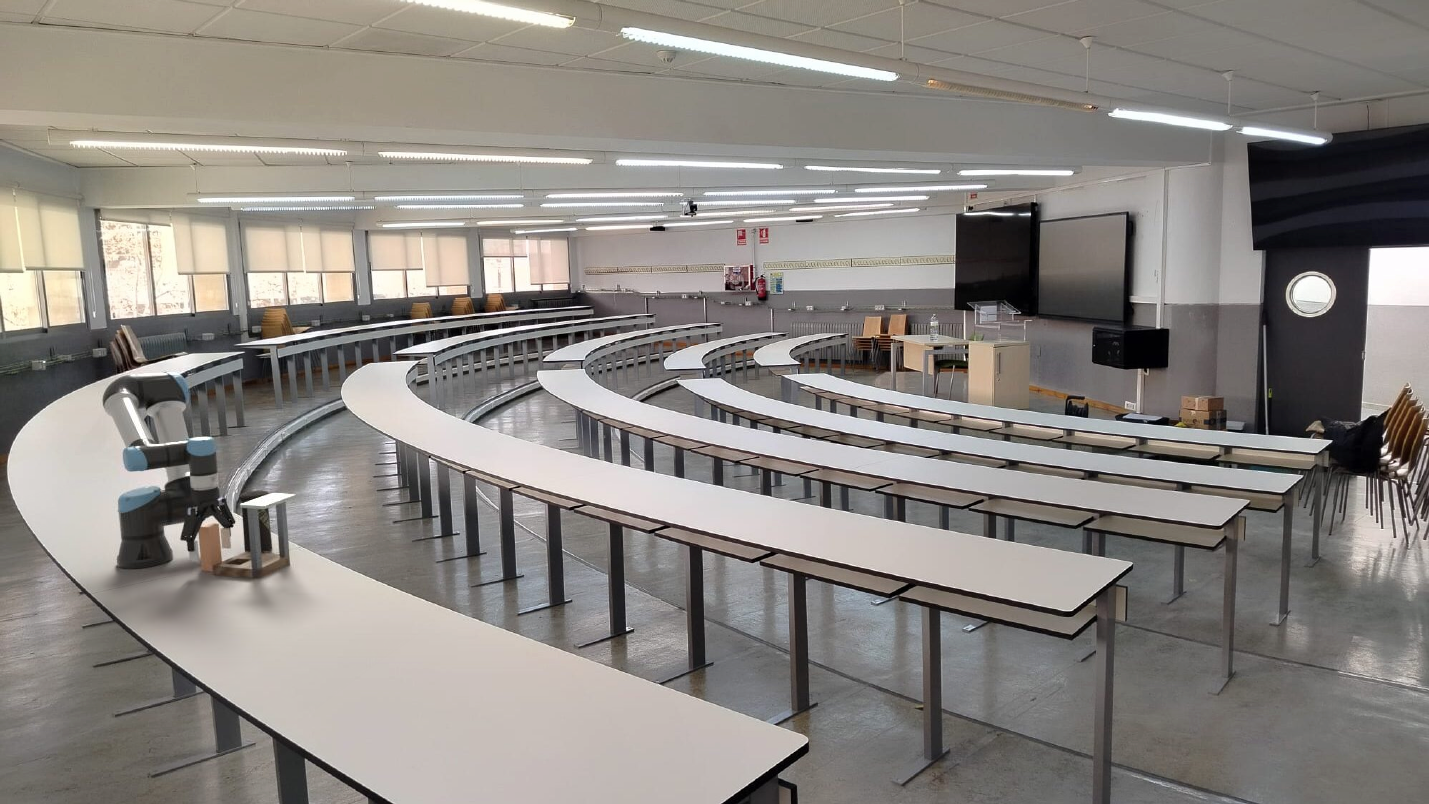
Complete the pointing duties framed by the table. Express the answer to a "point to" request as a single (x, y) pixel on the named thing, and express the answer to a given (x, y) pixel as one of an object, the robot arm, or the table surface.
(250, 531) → the white topped stool
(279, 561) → the socket board
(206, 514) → the robot arm
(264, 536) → the container
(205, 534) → the peg
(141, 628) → the table surface
